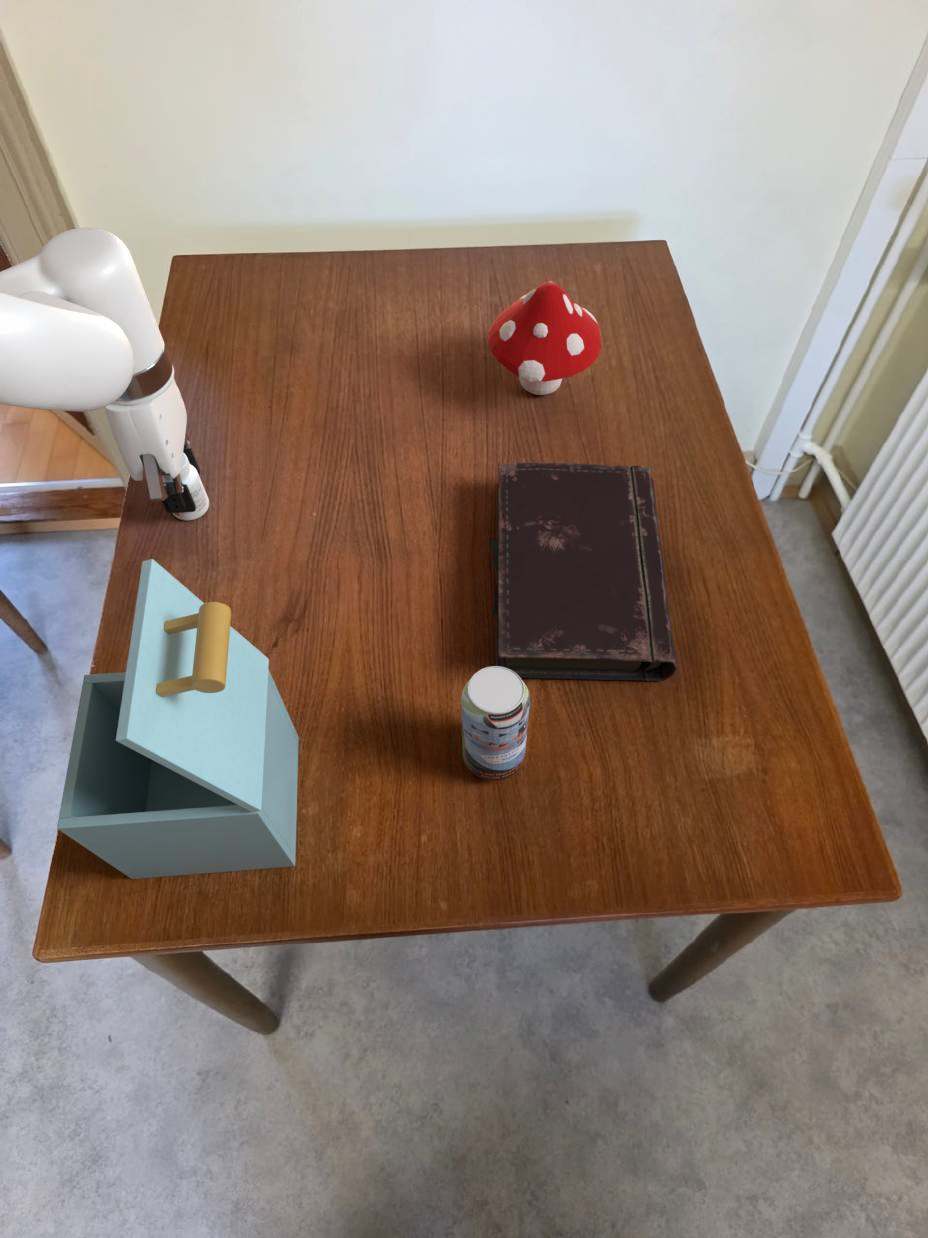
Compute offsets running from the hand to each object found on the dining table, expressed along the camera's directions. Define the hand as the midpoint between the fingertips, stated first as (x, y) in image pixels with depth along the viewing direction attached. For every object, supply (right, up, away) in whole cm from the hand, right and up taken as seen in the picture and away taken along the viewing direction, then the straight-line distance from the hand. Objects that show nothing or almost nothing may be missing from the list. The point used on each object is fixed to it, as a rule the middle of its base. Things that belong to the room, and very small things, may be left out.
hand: (183, 491), depth 92 cm
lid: (+13, -20, -36) cm, 43 cm away
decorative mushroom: (+42, +16, +13) cm, 46 cm away
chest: (+9, -32, -16) cm, 37 cm away
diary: (+44, -10, -2) cm, 45 cm away
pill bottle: (0, -2, +3) cm, 3 cm away
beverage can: (+35, -27, -12) cm, 46 cm away
